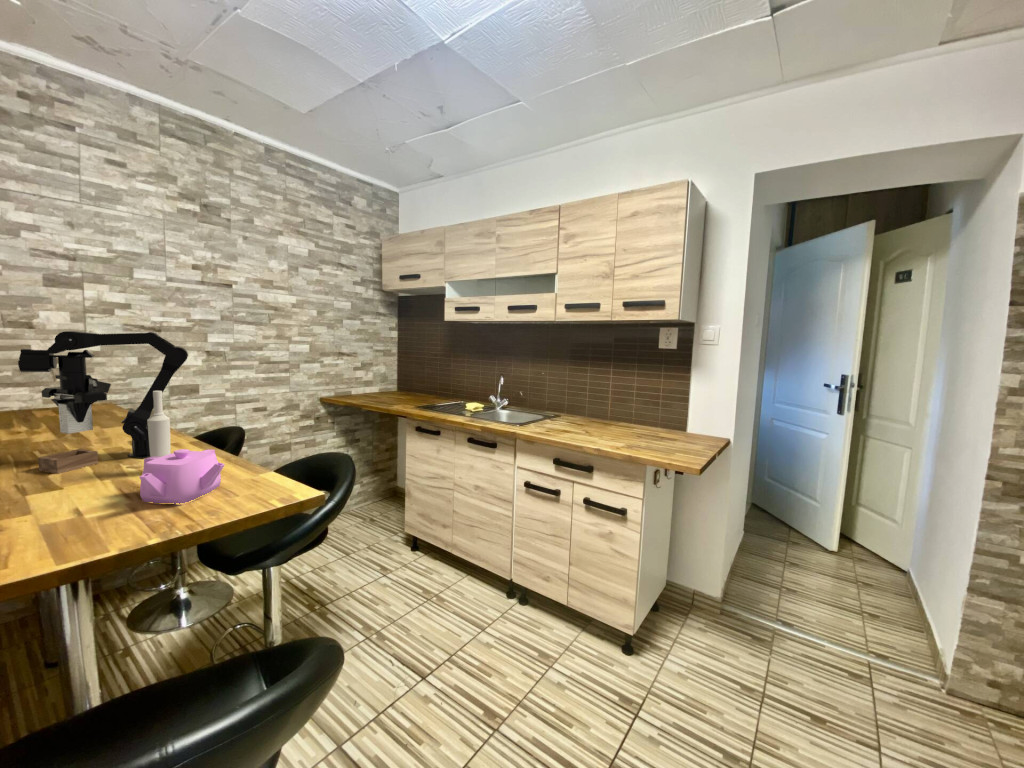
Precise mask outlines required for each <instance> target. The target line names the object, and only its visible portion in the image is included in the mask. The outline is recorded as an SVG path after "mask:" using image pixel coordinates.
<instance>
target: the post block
mask: <svg viewBox="0 0 1024 768" xmlns="http://www.w3.org/2000/svg"><path fill="white" fill-rule="evenodd" d="M37 461H38V462H37V463H38V471H40V472H44V471H46V472H47V473H50V472H51V474H56V475H59V474H63V473H66V472H71V471H74V470H79V469H83V468H86V466H87V467H90V465H91V466H94V465H93V464H95V465H98V464H99V455H98V450H89V449H83V448H76V449H71V450H68V451H62V452H57V453H54V454H53V453H52V454H49V455H44V456H39V457H37ZM97 463H98V464H97ZM82 467H83V468H82ZM46 472H45V473H46Z"/></svg>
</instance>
